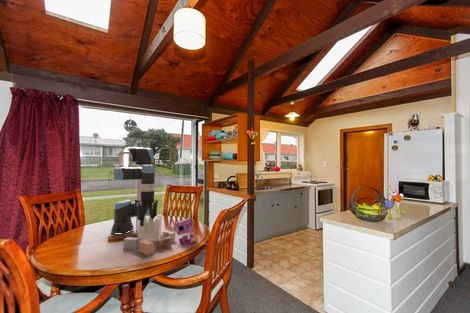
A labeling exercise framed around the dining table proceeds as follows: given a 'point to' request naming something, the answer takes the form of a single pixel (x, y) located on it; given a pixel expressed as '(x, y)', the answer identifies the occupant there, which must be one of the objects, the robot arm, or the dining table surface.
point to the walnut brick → (163, 243)
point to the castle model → (153, 235)
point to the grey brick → (131, 243)
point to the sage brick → (148, 226)
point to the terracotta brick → (146, 247)
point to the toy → (184, 230)
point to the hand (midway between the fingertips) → (146, 230)
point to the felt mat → (144, 254)
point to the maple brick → (170, 234)
